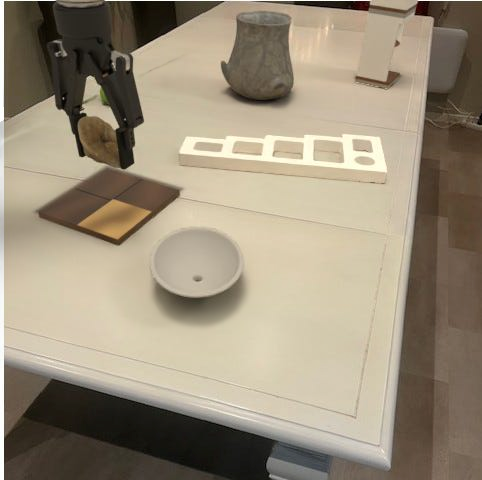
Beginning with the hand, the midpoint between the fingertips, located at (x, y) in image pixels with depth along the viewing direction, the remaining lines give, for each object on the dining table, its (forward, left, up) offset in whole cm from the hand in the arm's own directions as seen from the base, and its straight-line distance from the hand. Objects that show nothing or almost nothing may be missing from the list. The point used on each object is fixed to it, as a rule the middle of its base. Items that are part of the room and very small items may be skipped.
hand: (106, 159), depth 80 cm
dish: (+22, -8, -13) cm, 26 cm away
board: (-4, +4, -12) cm, 14 cm away
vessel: (-5, +74, -13) cm, 76 cm away
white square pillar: (+21, +106, -13) cm, 109 cm away
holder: (+16, +41, -13) cm, 46 cm away
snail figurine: (-37, +46, -13) cm, 61 cm away
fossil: (0, 0, 0) cm, 0 cm away
